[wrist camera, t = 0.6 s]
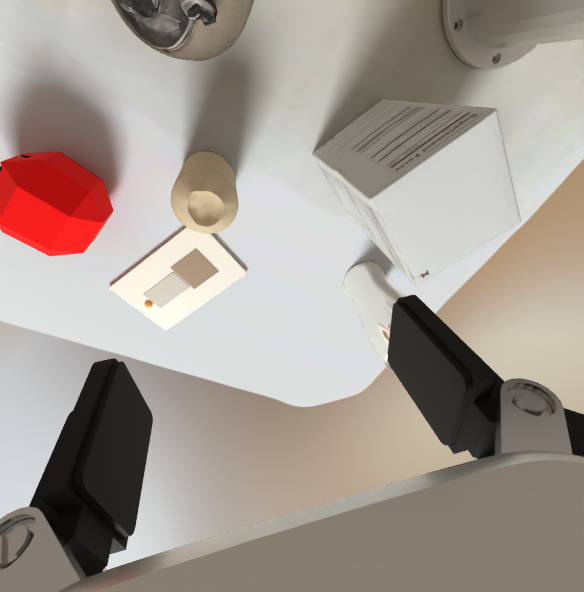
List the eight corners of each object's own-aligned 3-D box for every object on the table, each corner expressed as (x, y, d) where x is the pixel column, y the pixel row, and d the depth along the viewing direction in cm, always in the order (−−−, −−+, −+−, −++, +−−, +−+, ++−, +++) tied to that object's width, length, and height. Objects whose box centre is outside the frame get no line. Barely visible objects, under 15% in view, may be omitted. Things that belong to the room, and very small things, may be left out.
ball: (44, 131, 29) (-5, 144, 23) (129, 189, 33) (107, 213, 27) (9, 197, 31) (-44, 226, 25) (92, 244, 35) (64, 278, 29)
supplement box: (415, 172, 38) (526, 225, 24) (349, 219, 39) (417, 292, 26) (383, 94, 32) (502, 103, 19) (309, 152, 34) (367, 199, 20)
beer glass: (395, 275, 46) (459, 346, 33) (360, 307, 48) (407, 385, 36) (366, 249, 42) (424, 317, 30) (329, 285, 44) (370, 362, 32)
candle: (171, 162, 32) (153, 189, 24) (220, 141, 32) (220, 162, 24) (197, 211, 35) (190, 249, 27) (243, 192, 35) (249, 226, 27)
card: (196, 218, 36) (196, 221, 35) (246, 271, 41) (247, 275, 40) (109, 286, 38) (107, 290, 38) (166, 328, 43) (165, 333, 43)
